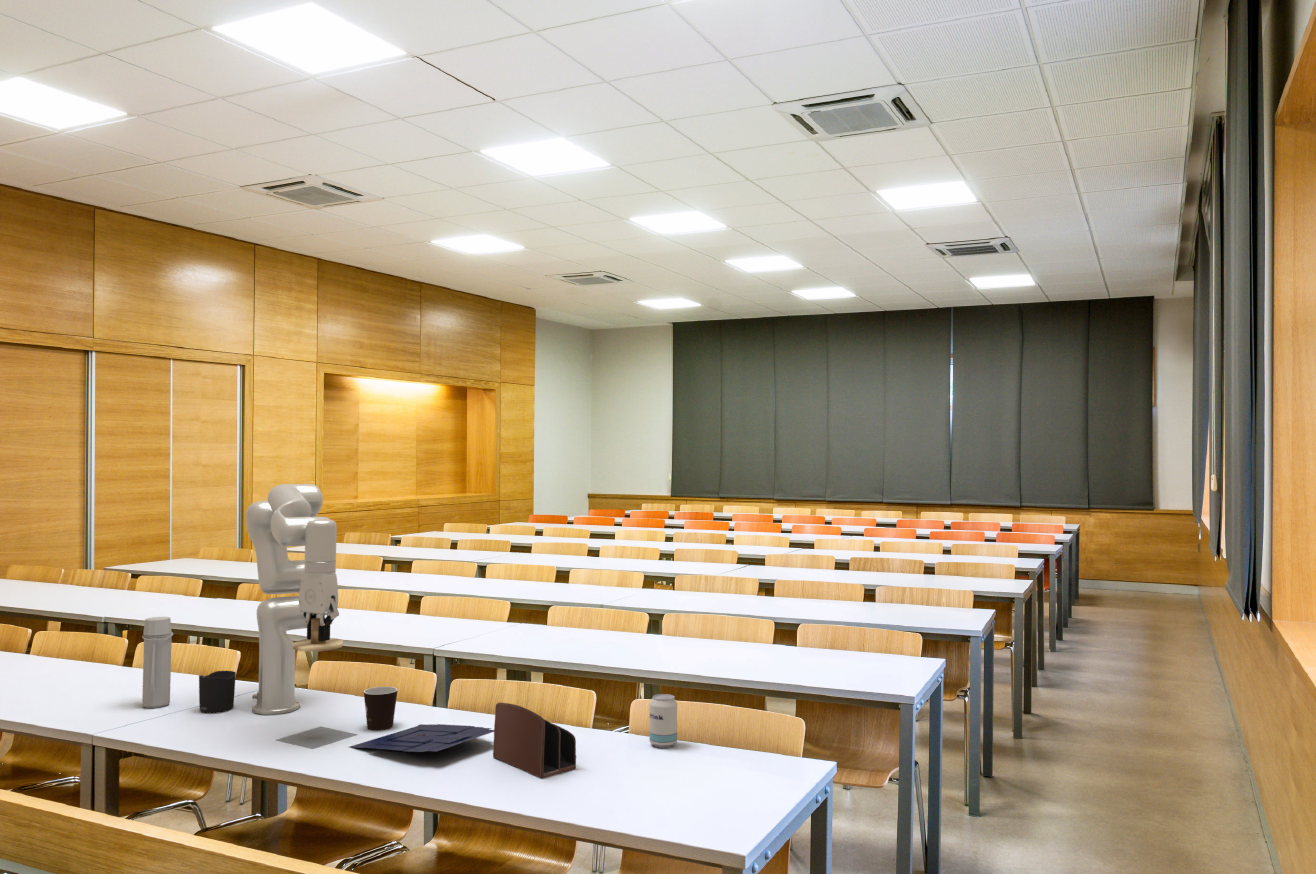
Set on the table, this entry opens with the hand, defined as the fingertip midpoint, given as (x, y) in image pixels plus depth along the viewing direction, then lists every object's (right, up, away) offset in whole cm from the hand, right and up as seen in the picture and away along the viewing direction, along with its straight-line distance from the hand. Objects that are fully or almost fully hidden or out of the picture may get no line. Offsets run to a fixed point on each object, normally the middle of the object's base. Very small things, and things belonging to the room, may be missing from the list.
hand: (318, 639), depth 231 cm
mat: (0, -25, -1) cm, 25 cm away
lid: (0, -2, 0) cm, 2 cm away
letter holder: (+58, -25, -19) cm, 66 cm away
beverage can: (+88, -26, -5) cm, 92 cm away
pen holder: (-39, -26, +26) cm, 53 cm away
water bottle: (-58, -26, +29) cm, 70 cm away
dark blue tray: (+29, -25, -7) cm, 39 cm away
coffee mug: (+13, -26, +10) cm, 31 cm away
